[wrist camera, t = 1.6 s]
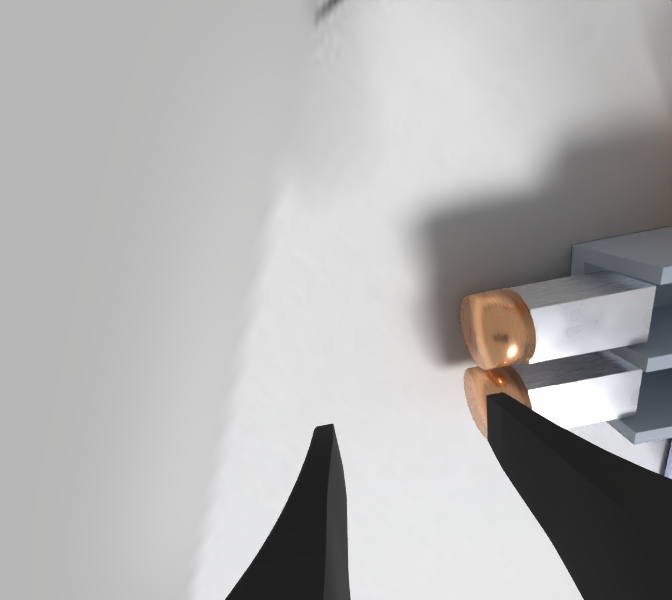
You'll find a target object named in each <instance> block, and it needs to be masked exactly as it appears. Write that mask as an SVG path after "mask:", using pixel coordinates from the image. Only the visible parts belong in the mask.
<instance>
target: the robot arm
mask: <svg viewBox="0 0 672 600" xmlns="http://www.w3.org/2000/svg"><path fill="white" fill-rule="evenodd" d="M486 402H487V437H488V442H489V444H490V446H491V448H492V450H493V452H494V454H495V456H496V458H497V459H498V461H499V463H500V465H501V467H502V469H503V470H504V472H505V473H506V475H507V476H508V478H509V479H510V481H511V482H512V484H513V485H514V487H515V488H516V490H517V491H518V493H519V494H520V496H521V497H522V499H523V500H524V501H525V503H526V504H527V506H528V507H529V509H530V510H531V512H532V513H533V515H534V516H535V518H536V519H537V521H538V522H539V524H540V525H541V527H542V528H543V530H544V531H545V533H546V534H547V536H548V537H549V539H550V541H551V542H552V544H553V545H554V547H555V549H556V550H557V552H558V554H559V556H560V557H561V559H562V561H563V563H564V565H565V566H566V568H567V570H568V572H569V573H570V575H571V577H572V579H573V581H574V582H575V584H576V586H577V588H578V590H579V592H580V593H581V595H582V597H583V599H584V600H672V442H671V447H670V452H669V456H668V461H667V466H666V470H665V475H664V476H663V475H660V474H657V473H655V472H653V471H650V470H648V469H646V468H643V467H641V466H639V465H636V464H634V463H632V462H630V461H628V460H625V459H623V458H621V457H619V456H617V455H614V454H612V453H610V452H608V451H606V450H604V449H602V448H600V447H598V446H596V445H594V444H592V443H590V442H588V441H587V440H585V439H583V438H581V437H579V436H577V435H575V434H573V433H572V432H570V431H568V430H566V429H564V428H563V427H561V426H559V425H557V424H556V423H554V422H552V421H551V420H549V419H547V418H545V417H544V416H542V415H540V414H539V413H537V412H535V411H534V410H532V409H531V408H529V407H527V406H526V405H524V404H522V403H521V402H519V401H517V400H516V399H514V398H513V397H511V396H509V395H508V394H506V393H504V392H501V393H495V394H490V395H486ZM225 600H351V599H350V589H349V574H348V538H347V496H346V487H345V479H344V471H343V465H342V460H341V456H340V451H339V447H338V443H337V438H336V434H335V429H334V425H333V424H328V425H323V426H318V427H316V428H315V429H314V433H313V437H312V440H311V444H310V447H309V450H308V453H307V456H306V458H305V461H304V464H303V466H302V469H301V471H300V474H299V476H298V479H297V481H296V483H295V485H294V488H293V490H292V492H291V494H290V496H289V499H288V501H287V503H286V505H285V507H284V509H283V511H282V513H281V514H280V516H279V518H278V520H277V522H276V524H275V525H274V527H273V529H272V531H271V532H270V534H269V536H268V537H267V539H266V541H265V542H264V544H263V546H262V547H261V549H260V550H259V552H258V554H257V555H256V557H255V558H254V560H253V561H252V563H251V564H250V566H249V567H248V569H247V570H246V571H245V573H244V574H243V576H242V577H241V578H240V580H239V581H238V582H237V584H236V585H235V587H234V588H233V589H232V591H231V592H230V594H229V595H228V596H227V598H226V599H225Z"/></svg>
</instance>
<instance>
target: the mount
mask: <svg viewBox="0 0 672 600" xmlns="http://www.w3.org/2000/svg"><path fill="white" fill-rule="evenodd" d="M601 270H607V271H610V272H613V273H617V274H620V275H623V276H626V277H630V278H633V279H636V280H639V281H642V282H646V283H649V284H652V285H655V286H656V291H655V297H654V303H653V310H652V316H651V322H650V328H649V334H648V341H647V342H644V343H639V344H633V345H628V346H622V347H617V348H612V349H607V350H608V351H610V352H612V353H613V354H615V355H617V356H619V357H620V358H622V359H624V360H625V361H627V362H629V363H631V364H632V365H634V366H636V367H637V368H639V369H641V370H643V372H642V378H641V384H640V390H639V396H638V403H637V409H636V415H635V416H630V417H625V418H620V419H614V420H609V421H606V422H607V423H609V424H610V425H611V426H612V427H613V428H615V429H616V430H617V431H618V432H619V433H621V434H622V435H623V436H624V437H625V438H627V439H628V440H629V441H630V442H631V443H633V444H634V445H635V444H641V443H646V442H651V441H657V440H662V439H668V438H672V226H669V227H664V228H659V229H654V230H648V231H643V232H638V233H632V234H627V235H622V236H617V237H611V238H606V239H601V240H596V241H590V242H585V243H580V244H574V245H572V260H571V275H570V276H574V275H579V274H585V273H590V272H595V271H601Z"/></svg>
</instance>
